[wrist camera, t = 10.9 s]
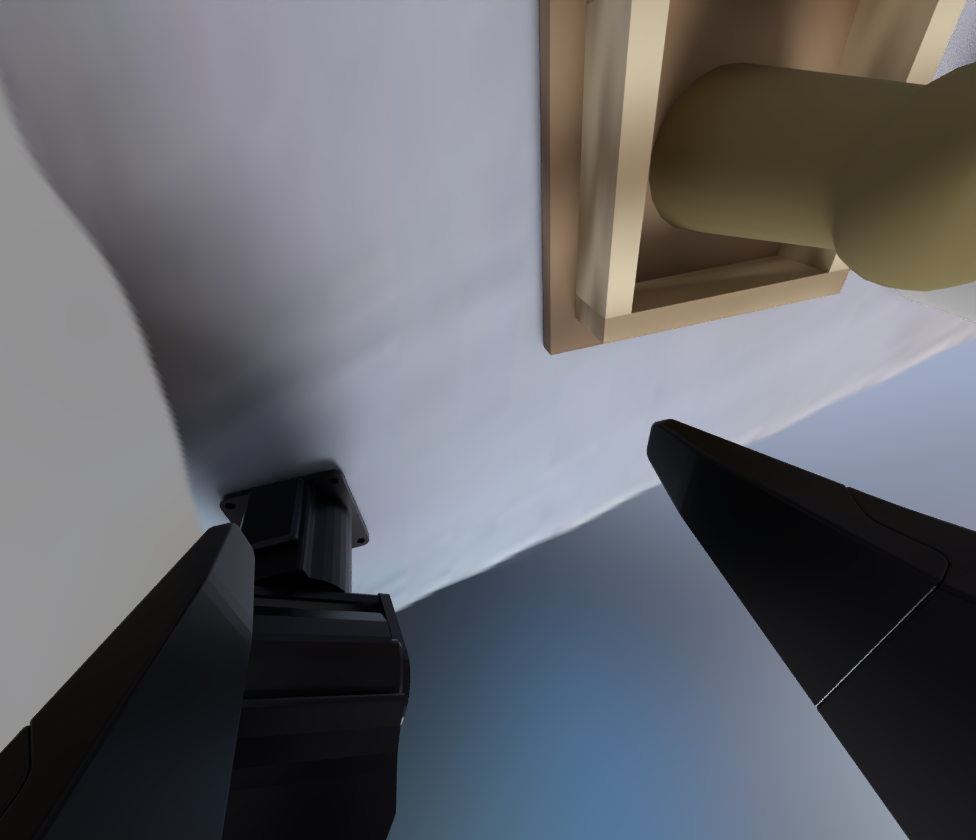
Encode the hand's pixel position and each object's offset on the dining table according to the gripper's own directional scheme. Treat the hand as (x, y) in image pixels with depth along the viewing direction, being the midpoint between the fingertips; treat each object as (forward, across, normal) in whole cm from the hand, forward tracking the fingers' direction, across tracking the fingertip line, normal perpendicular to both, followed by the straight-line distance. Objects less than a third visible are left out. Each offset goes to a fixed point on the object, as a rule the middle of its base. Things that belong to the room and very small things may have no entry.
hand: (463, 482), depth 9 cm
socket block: (+12, -14, -4) cm, 19 cm away
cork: (+12, -14, -4) cm, 19 cm away
